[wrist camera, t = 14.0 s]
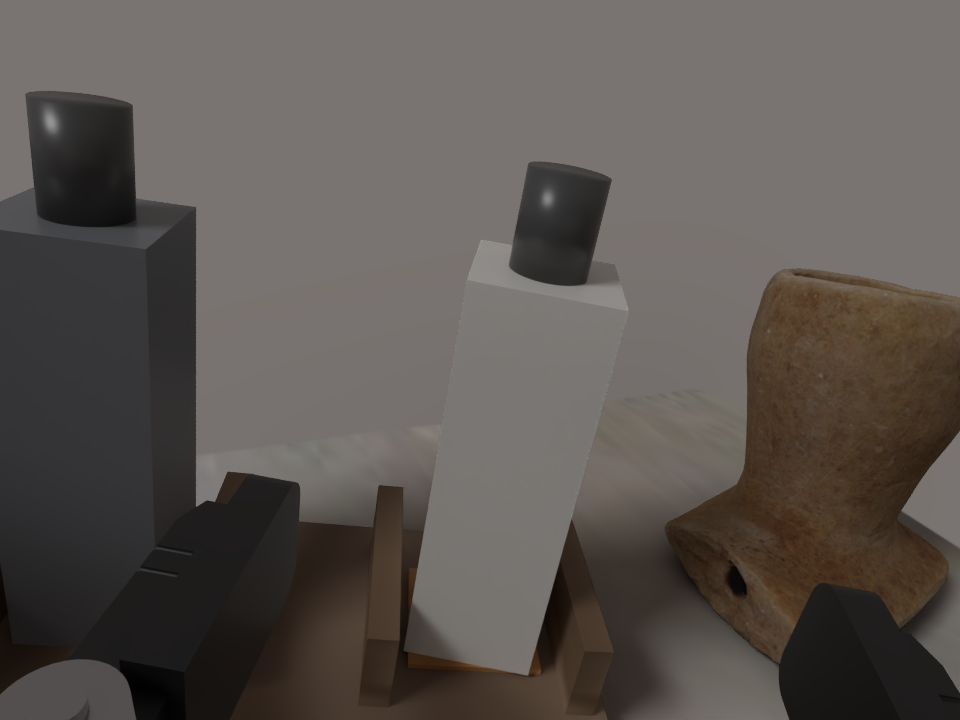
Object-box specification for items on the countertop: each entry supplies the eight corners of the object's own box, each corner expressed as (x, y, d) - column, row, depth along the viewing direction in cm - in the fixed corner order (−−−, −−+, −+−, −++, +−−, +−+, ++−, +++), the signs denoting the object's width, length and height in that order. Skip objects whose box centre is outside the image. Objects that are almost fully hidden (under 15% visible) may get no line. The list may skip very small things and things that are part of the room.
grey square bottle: (195, 559, 27) (196, 105, 20) (158, 651, 23) (142, 126, 16) (73, 550, 27) (29, 78, 20) (12, 643, 23) (-69, 93, 16)
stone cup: (761, 468, 44) (854, 237, 38) (962, 593, 36) (1123, 324, 30) (592, 534, 35) (678, 245, 29) (809, 722, 27) (995, 372, 20)
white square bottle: (530, 586, 29) (638, 173, 22) (528, 675, 25) (659, 202, 18) (424, 566, 29) (497, 146, 22) (403, 650, 25) (485, 169, 18)
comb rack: (553, 559, 33) (572, 488, 31) (606, 763, 24) (638, 679, 22) (46, 520, 29) (37, 439, 28) (-117, 740, 20) (-144, 639, 19)
